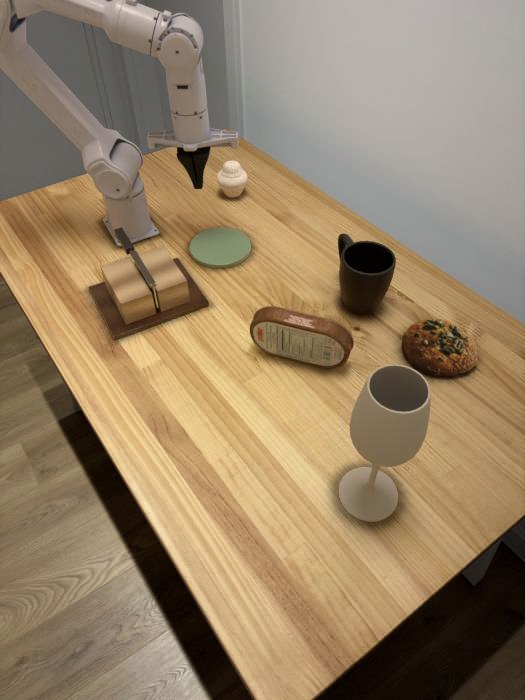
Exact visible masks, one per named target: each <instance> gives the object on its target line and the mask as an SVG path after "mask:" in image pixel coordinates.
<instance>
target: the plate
mask: <svg viewBox="0 0 525 700" xmlns="http://www.w3.org/2000/svg"><path fill="white" fill-rule="evenodd" d="M188 248H189V254H190V257H191V258H192V259H193V261H195V262H196V263H197V264H198V265H201V266H203V267H206V268H210V269H228V268H233V267H235V266H237V265H239V264H241V263H243V262H244V261H245V260H247V259H248V257H249V255H250V254H251V251H252V243H251V240H250V238H249V237H248V236H247V234H245V232H243V231H241V230H239V229H237V228H232V227H228V226H227V227H225V226H218V227H210V228H207V229H205V230H202V231H200V232H199V233H197V234H196V235H194V237H192V239H191V241H190V242H189V247H188Z"/></svg>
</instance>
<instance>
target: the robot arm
mask: <svg viewBox="0 0 525 700" xmlns="http://www.w3.org/2000/svg"><path fill="white" fill-rule="evenodd" d="M42 11H47V12H49V13H53V14H56V15H59V16H62V17H66V18H69V19H72V20H75V21H78V22H81V23H85V24H88V25H91V26H95V27H97V28H101V29H102V30H104V33H105V34H106V36H107V37H108V38H109V40H110V41H111V42H112V43H115V44H117V45H120V46H123V47H126V48H128V49H131V50H134V51H136V52H139V53H142V54H145V55H146V56H150V57H152V58H155V59H158V61H159V63H160V64H161V65H162V67H163V68H164V70H165V82H166V89H167V94H168V95H167V96H168V102H169V108H170V116H171V122H172V129H166V130H161V131H154V132H153V131H152V132H147V136H146V142H147V147H148V150H156V148H176V159H177V161H178V163H180V164H181V165H182V167H183V168H184V170H185V171H186V173H187V174H188V176H189V178H190V181H191V184H192V186H193V189H194V190H202V189H203V187H204V175H205V168H206V166H207V162H208V160H209V158H210V153H211V148H226V147H227V148H230V149H232V150H238V149H239V131H232V130H231V131H229V130H224V129H218V128H212V127H210V119H209V118H210V117H209V108H208V98H207V97H208V96H207V88H206V77H205V73H204V63H203V57H202V55H200V54H201V52H202V50H203V47H204V40H205V39H204V32H203V28H202V27H201V25H200V24H199V22H198V21H197V20H196V19H194V18H193V17H192V16H189V14H187V13H186V12H177V13H175V14H173V13H172V12H171V11H169V10H167V9H164V11H163V12H162V11H159V10H157V9H155V8H152V7H150V6H146V5H145V4H141V3H139V2H138V0H109V1H108V0H0V70H1V71H2V72H3V73H4V74H5V75H6V76H7V77H8V78H9V79H10V80H11V81H12V82H13V83H14V84H15V85H16V86H17V87H18V88H19V89H20V90H21V91H22V93H23V94H24V95H25V96H27V98H29V100H30V101H31V102H32V103H33V104H34V105H35V106H36V107H37V108H38V109H39V110H40V111H41V112H42V114H44V115H45V116H46V117H47V118H48V119H49V120H50V121H51V123H53V125H54V126H56V128H57V129H58V130H59V131H60V132H61V133H62V134H63V135H64V136H65V137H66V138H67V139H68V140H69V141H70V142H71V143H72V144H73V145H74V146H75V147H76V149H78V150H79V152H80V153H81V158H82V163H83V167H84V170H85V172H86V173H87V174H88V175H89V176H90V177H91V179H92V181H93V184H94V186H95V188H96V189H97V190H98V192H99V193H100V194H101V196H102V197H101V198H102V201H103V205H104V209H105V213H106V217H103V218H102V222H103V224H104V225H105V227H106V229H107V230H108V233H109V234H110V235H111V237H112V238H113V240H114V242H115V244H116V246H117V247H122V245H121V244H120V242H119V240H118V239H117V237H116V235H115V232H114V229H118V228H121V227H122V228H123V230H124V231H125V233H126V235H127V236H128V238H129V239H130V241H131V243H132V244H134V243H137V242H140V241H143V240H146V239H150V238H153V237H155V236H159V235H160V231H159V230H158V228H157V226H156V225H155V224H154V222H153V221H152V219H151V216H150V211H149V206H148V201H147V194H146V189H145V184H144V181H143V179H142V176H141V174H140V170H141V168H142V167H143V164H144V156H143V152H142V151H141V149H140V148H139V147H138V145H136V143H134V142H132V141H130V140H128V139H127V138H125V137H123V135H122V134H120V132H119V131H117V130H115V129H111V128H106V127H104V126H103V125H102V124H101V122H100V121H99V120H98V119H97V118H96V117H95V116H94V114H93V113H91V111H89V109H88V108H87V107H86V106H85V105H84V104H83V102H81V100H80V99H79V98H78V97H77V95H75V94H74V92H72V90H71V89H70V88H69V87H68V86H67V85H66V84H65V83H64V81H63V80H61V78H60V77H59V76H58V75H57V74H56V73H55V72H54V70H52V69H51V67H50V66H49V65H48V64H47V63H46V62H45V60H43V58H42V57H41V56H40V55H39V54H38V52H36V51H35V50H34V48H33V47H32V46H31V45H30V44H29V43H28V41H27V17H28V16H32V15H35V14H37V13H39V12H42ZM172 14H173V15H172Z"/></svg>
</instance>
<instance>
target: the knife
mask: <svg viewBox="0 0 525 700" xmlns="http://www.w3.org/2000/svg"><path fill="white" fill-rule="evenodd" d="M114 232H115V235H116V237H117V239H118V240H119V242H120V244H121V245H122V246H121V247H122V249H123V251H124V252H125V254H126V255H127V256H128V255H130V257H131V259H132V261H133V262H134V264H135V266H136V267H137V269H138V271H139V272H140V274H141V276H142V277H143V279H144V280H145V282H146V284H147V285H148V287H149V289H150V290H151V292H152V295H153V300H154V305H155V306H156V308H157V309H159V306H158V301H157V296H156V291H155V286H157V285H156V282H155V281H154V279H153V277H152V276H151V274H150V273H149V271H148V269H147V268H146V266H145V265H144V263H143V261H142V260H141V258H140V257H139V255H138V254H139V253H138V251H136V248H135V246H134V243H131V241H130V239H129V238H128V236H127V235H126V233H125V231H124V230H123V228H122V227H121V228H118V229H114Z"/></svg>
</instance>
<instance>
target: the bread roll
mask: <svg viewBox="0 0 525 700" xmlns="http://www.w3.org/2000/svg"><path fill="white" fill-rule="evenodd" d="M401 343H402V350H403V352H404V354H405V356H406V358H407V360H408V361H409V363H410V365H411V366H412V368H413V369H414V370H416V371H418V372H419V373H423V374H426V375H429V376H434V377H435V376H437V377H452V376H454V377H455V376H457V375H458V374H464V373H468V372H470V371H471V370H472V369H473V368H474V367H475V366H476V365H477V364H478V361H479V360H478V358H479V357H478V347H477V343H476V341H475V339H474V337H473V336H472V335H471V334H470V333H469V331H468V330H466V329H463V328H462V327H460V326H459V325H457V324H456V323H454V322H452V321H449V320H446V319H443V318H434V319H422V320H419V321H417V322H415V323H412V324H410V326H409V327H408V328H407V329H406V331H404V333H403V335H402V340H401Z"/></svg>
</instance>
